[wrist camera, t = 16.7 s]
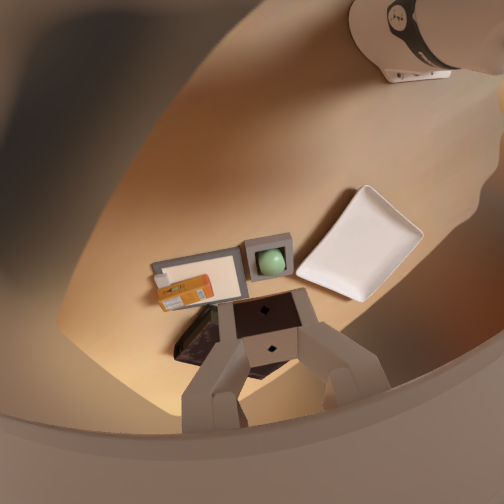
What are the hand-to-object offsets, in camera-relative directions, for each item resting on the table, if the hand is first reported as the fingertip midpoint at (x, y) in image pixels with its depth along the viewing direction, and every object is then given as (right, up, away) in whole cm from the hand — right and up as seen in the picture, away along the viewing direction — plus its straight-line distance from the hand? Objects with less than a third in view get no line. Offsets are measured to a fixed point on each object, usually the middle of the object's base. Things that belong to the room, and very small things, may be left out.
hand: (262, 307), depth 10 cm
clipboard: (-10, -3, +43) cm, 44 cm away
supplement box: (-7, -4, +40) cm, 41 cm away
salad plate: (+21, +4, +44) cm, 49 cm away
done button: (+3, +1, +41) cm, 41 cm away
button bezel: (+3, +1, +42) cm, 42 cm away
